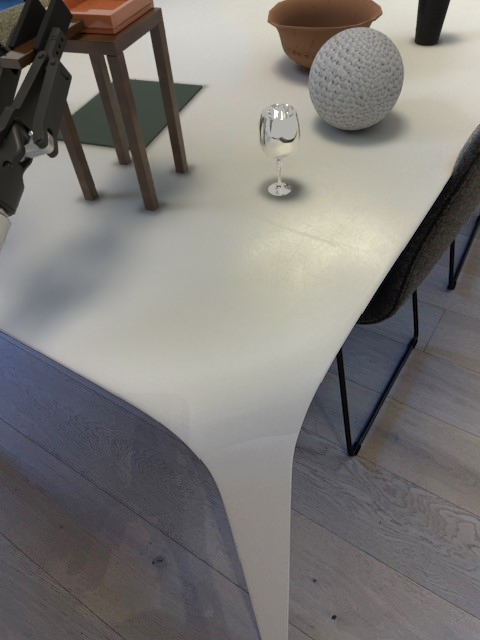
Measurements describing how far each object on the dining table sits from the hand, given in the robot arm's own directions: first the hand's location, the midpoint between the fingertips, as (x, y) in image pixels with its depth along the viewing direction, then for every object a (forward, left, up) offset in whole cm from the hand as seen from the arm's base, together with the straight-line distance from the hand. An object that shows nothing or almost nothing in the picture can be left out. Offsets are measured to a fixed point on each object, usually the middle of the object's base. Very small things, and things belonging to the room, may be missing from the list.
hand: (50, 5), depth 53 cm
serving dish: (0, +2, -4) cm, 4 cm away
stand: (0, +7, -27) cm, 28 cm away
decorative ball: (+28, +33, -27) cm, 51 cm away
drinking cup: (+36, +73, -27) cm, 86 cm away
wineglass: (+22, +11, -27) cm, 37 cm away
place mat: (-14, +29, -27) cm, 42 cm away
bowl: (+17, +56, -27) cm, 65 cm away
